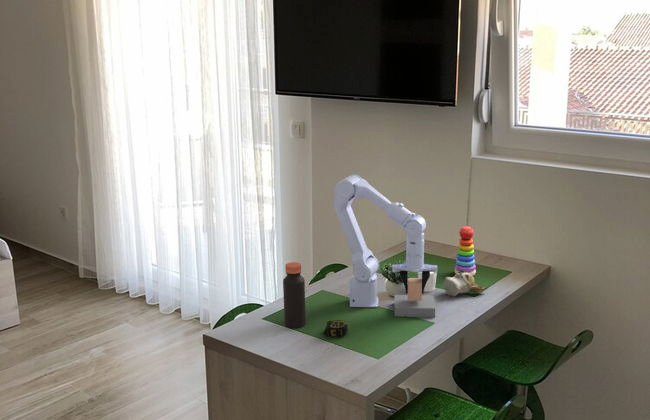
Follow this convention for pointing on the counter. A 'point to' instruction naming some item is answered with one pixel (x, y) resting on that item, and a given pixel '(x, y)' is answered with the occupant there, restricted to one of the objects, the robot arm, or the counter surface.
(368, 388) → the counter surface
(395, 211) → the robot arm
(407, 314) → the plinth
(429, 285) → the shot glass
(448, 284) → the ceramic sculpture
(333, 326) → the tape measure
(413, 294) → the terracotta block
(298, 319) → the bottle
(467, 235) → the stacking toy
